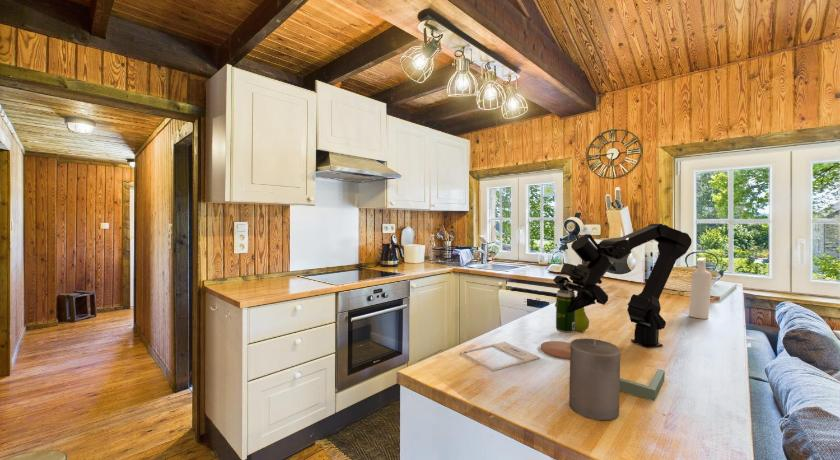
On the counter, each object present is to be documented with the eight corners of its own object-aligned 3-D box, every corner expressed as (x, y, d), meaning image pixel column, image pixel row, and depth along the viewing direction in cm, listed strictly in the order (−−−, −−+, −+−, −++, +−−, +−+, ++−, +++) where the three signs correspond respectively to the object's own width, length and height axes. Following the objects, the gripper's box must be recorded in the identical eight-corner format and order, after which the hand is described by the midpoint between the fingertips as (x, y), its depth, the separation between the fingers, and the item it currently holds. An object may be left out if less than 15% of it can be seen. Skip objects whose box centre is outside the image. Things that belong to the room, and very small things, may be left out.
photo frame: (540, 356, 102) (493, 369, 93) (540, 360, 102) (493, 373, 93) (504, 341, 115) (460, 351, 106) (504, 344, 115) (460, 354, 106)
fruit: (570, 331, 127) (570, 298, 126) (569, 326, 133) (570, 295, 132) (589, 334, 124) (590, 300, 124) (588, 329, 130) (589, 297, 130)
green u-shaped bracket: (591, 361, 101) (592, 352, 101) (664, 380, 89) (664, 370, 89) (575, 377, 90) (575, 367, 90) (654, 401, 79) (655, 390, 79)
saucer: (567, 341, 116) (567, 339, 116) (596, 357, 104) (596, 354, 104) (532, 345, 113) (532, 342, 113) (558, 361, 100) (558, 358, 100)
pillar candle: (576, 392, 82) (577, 329, 82) (623, 407, 76) (625, 339, 75) (562, 410, 75) (563, 341, 74) (613, 428, 69) (615, 352, 68)
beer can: (576, 330, 108) (577, 291, 108) (573, 334, 103) (573, 294, 103) (558, 326, 111) (558, 289, 110) (554, 331, 106) (554, 292, 106)
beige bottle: (712, 315, 150) (715, 257, 149) (706, 321, 142) (708, 259, 141) (693, 312, 155) (695, 256, 154) (686, 317, 147) (688, 257, 146)
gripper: (558, 251, 116) (528, 285, 114) (600, 257, 98) (565, 298, 96) (578, 273, 119) (549, 308, 116) (623, 284, 101) (589, 325, 98)
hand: (561, 309), depth 107 cm, fingers closed on beer can, 5 cm apart
